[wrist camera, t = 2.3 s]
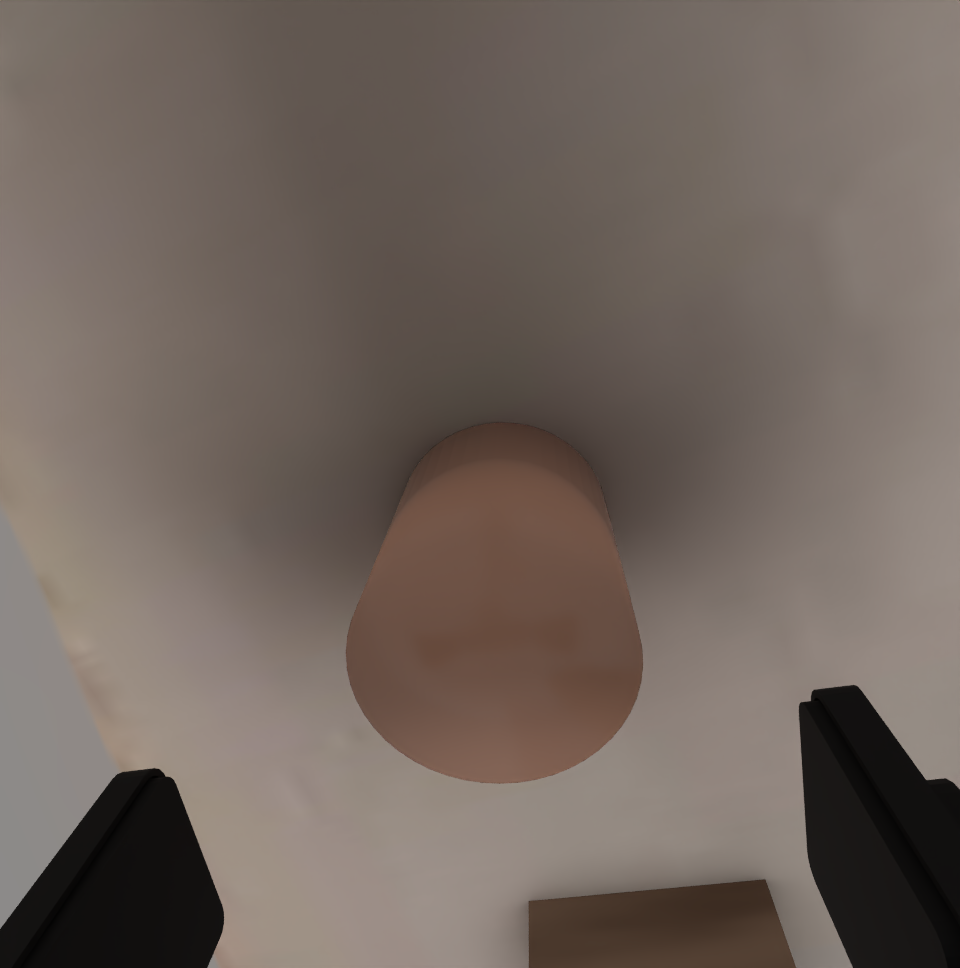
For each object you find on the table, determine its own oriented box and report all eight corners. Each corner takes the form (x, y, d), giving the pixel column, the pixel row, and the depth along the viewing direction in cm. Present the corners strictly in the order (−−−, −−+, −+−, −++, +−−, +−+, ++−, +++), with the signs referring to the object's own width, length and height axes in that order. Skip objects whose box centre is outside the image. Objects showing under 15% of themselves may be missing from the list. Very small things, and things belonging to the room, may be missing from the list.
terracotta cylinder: (380, 441, 18) (312, 556, 12) (592, 406, 17) (624, 510, 11) (424, 622, 19) (383, 796, 14) (618, 596, 19) (657, 767, 13)
